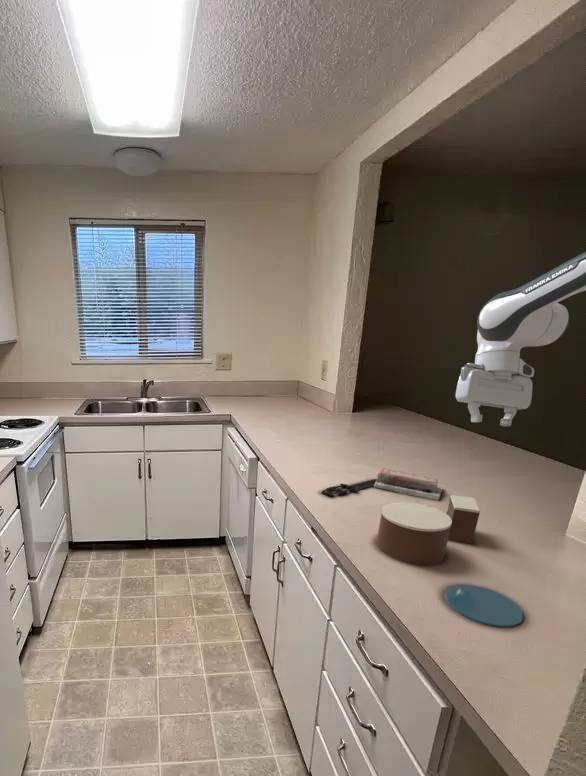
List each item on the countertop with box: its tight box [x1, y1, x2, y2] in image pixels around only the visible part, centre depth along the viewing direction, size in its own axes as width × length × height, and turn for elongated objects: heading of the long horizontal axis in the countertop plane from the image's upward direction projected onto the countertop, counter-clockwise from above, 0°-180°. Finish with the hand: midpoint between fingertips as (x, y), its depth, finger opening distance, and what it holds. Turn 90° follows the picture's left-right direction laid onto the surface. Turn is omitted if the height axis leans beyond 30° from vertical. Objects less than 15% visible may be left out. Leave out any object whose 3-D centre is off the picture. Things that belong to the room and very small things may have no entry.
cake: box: [376, 501, 452, 566], centre depth 99 cm, size 14×14×9 cm
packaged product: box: [373, 468, 443, 501], centre depth 133 cm, size 18×5×10 cm
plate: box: [444, 584, 524, 628], centre depth 80 cm, size 12×12×1 cm
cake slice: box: [446, 494, 481, 545], centre depth 105 cm, size 5×8×9 cm, turn 156°
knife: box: [321, 478, 377, 498], centre depth 135 cm, size 25×6×1 cm, turn 112°
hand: (491, 424), depth 106 cm, fingers open, 8 cm apart
